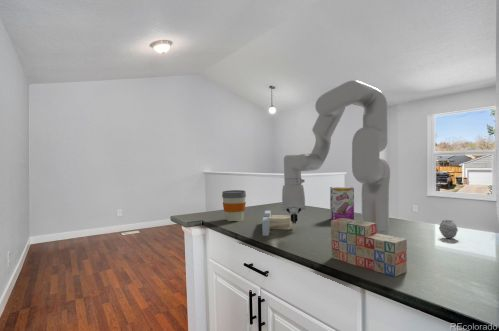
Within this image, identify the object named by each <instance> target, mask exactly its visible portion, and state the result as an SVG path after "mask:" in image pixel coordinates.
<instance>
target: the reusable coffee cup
mask: <svg viewBox="0 0 499 331" xmlns="http://www.w3.org/2000/svg"><path fill="white" fill-rule="evenodd" d="M221 193H222V194H221V197H222V206H223V211H224V215H225V220H228V221H227V222H229V221H238V222H242V221H243V220H244V215H245V210H246V197H247V195H246V194H247V193H246V190H243V189H242V190H241V189H239V190H237V189H234V190H230V189H229V190H223V191H222V192H221ZM241 220H242V221H241Z"/></svg>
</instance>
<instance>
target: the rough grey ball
mask: <svg viewBox="0 0 499 331" xmlns="http://www.w3.org/2000/svg"><path fill="white" fill-rule="evenodd" d="M438 230H439V232H440V234H441V235H442V236H443V237H444V238H445V239H454V238H456V236H457V234H458V227H457V224H455V222H454V220H451V219H441V223H440V224H439V227H438Z"/></svg>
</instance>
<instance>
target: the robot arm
mask: <svg viewBox="0 0 499 331" xmlns="http://www.w3.org/2000/svg"><path fill="white" fill-rule="evenodd" d="M351 105H353V106H357V107H361V108H363V115H362V127H361V128H359V129H358V130H356V131H355V133H354V134H353V135H354V136H352V140H351V169H352V171H351V172H352V175H353V177H354V178H355V180H356V181H357V182H358V183H361V221H366V222H372V223H376V230H377V233H376V234H383V235H388V236H390V208H389V207H390V203H389V201H390V198H389V197H390V196H389V194H390V192H389V191H390V188H389V187H390V180H391V179H390V178H391V168H390V164H389V163H388V162H387V161H386V159H384V158H382V157H381V156H380V153H381V152H383V151H384V150H385V149H386V147H387V145H388V101H387V98H386V96H385V94H384V93H383V92H382V91H381V90H380V89H378V88H376V87H374V86H372V85H370V84H367V83H364V82H362V81H359V80H356V79H355V80H354V79H353V80H352V79H351V80H348V81H346V82H344V83H342V84H340V85H338V86H336V87H334V88H332V89H330V90H328V91H326V92H324V93H323V94H321V95H320V96H319V97H318V98H317V99H316V101H315V106H314V107H315V111H316V112H317V113H318V116H317V119H316V120H315V122H314V125H313V127H312V133H313V134H314V137H315V143H314V146H313V148H312V151H311V152H310V153H302V154H301V153H300V154H288V155H287V154H286V155H284V157H283V174H284V175H283V176H284V177H283V178H284V182H283V183H284V184H283V185H282V190H281V203H282V204H281V205H282V206H281V210H282V211H284V212H285V211H286V212H288V214H289V215H290V216H291V224H294V225H295V224H297V222H298V214H299V213H300V212H301V211H306V209H307V208H306V197H305V189H304V185H303V183H305V181H306V180H305V179H303V178H302V172H309V171H310V172H312V171H317V170H319V169H320V168H321V167H322V166H323V164H324V163H325V160H326V159H327V157H328V155H329V153H330V149H331V140H332V139H331V138H332V136H333V134H334V132H335V131H336V128H337V127H338V124H339V123H340V121H341V118H342V116H343V114H344V112H345V110H346V107H349V106H351ZM293 209H294V210H295V211H294V212H293Z"/></svg>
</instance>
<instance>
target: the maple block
mask: <svg viewBox="0 0 499 331" xmlns="http://www.w3.org/2000/svg"><path fill="white" fill-rule="evenodd" d="M291 228H292V221H291V215H274V214H273V215H271V217H270V230H289V231H290V230H291Z"/></svg>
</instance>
